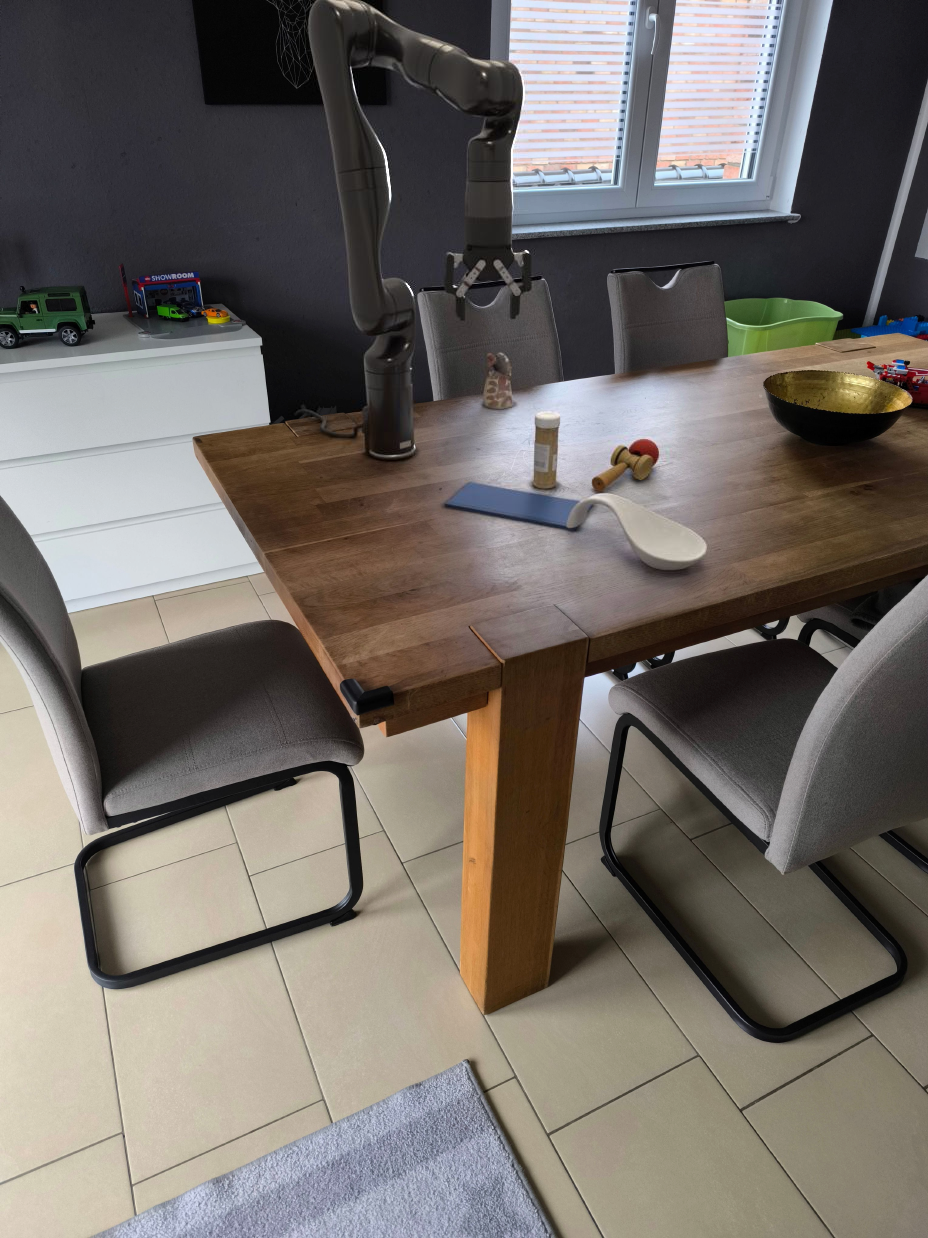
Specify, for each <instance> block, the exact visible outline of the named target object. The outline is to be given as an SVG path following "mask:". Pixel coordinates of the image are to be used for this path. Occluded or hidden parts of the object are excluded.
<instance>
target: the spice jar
mask: <svg viewBox="0 0 928 1238" xmlns="http://www.w3.org/2000/svg"><path fill="white" fill-rule="evenodd" d="M534 426H535V427H534V428H535V431H534V447H533V450H534V451H533V480H532V485H533V486H534V487H536V488H538V489H543V490H544V489H545V490H547V489H553V488H554V487H556V486H557V483H558V481H557V472H558V471H557V470H558V455H559V453H558V451H559V430H560V429H559V428H560V426H561V415H560V414H559V413H558V412H555V411H539V412H537V413H536V414H535V415H534Z"/></svg>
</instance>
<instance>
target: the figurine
mask: <svg viewBox="0 0 928 1238" xmlns="http://www.w3.org/2000/svg"><path fill="white" fill-rule="evenodd" d="M487 358H488V359H489V361H488V363H487V364H486V367H485V371H486V379H485V382H484V383H485V384H484V388H483V395H482V402H483V405H484V407H486V408H488V409H493V410H504V409H508V408H510V407H514V399H513V398H514V397H513V393H512V385H511V380H510V378H512V369H513V366H512V365H511V364H510V360H509V358H508V357H507V356H506V355H505V354H504V353H503V352H497V353H495V356H494V355H493V354H492V353H491V352H489V353H488V354H487ZM490 368H493V370H492V371H490Z"/></svg>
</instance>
